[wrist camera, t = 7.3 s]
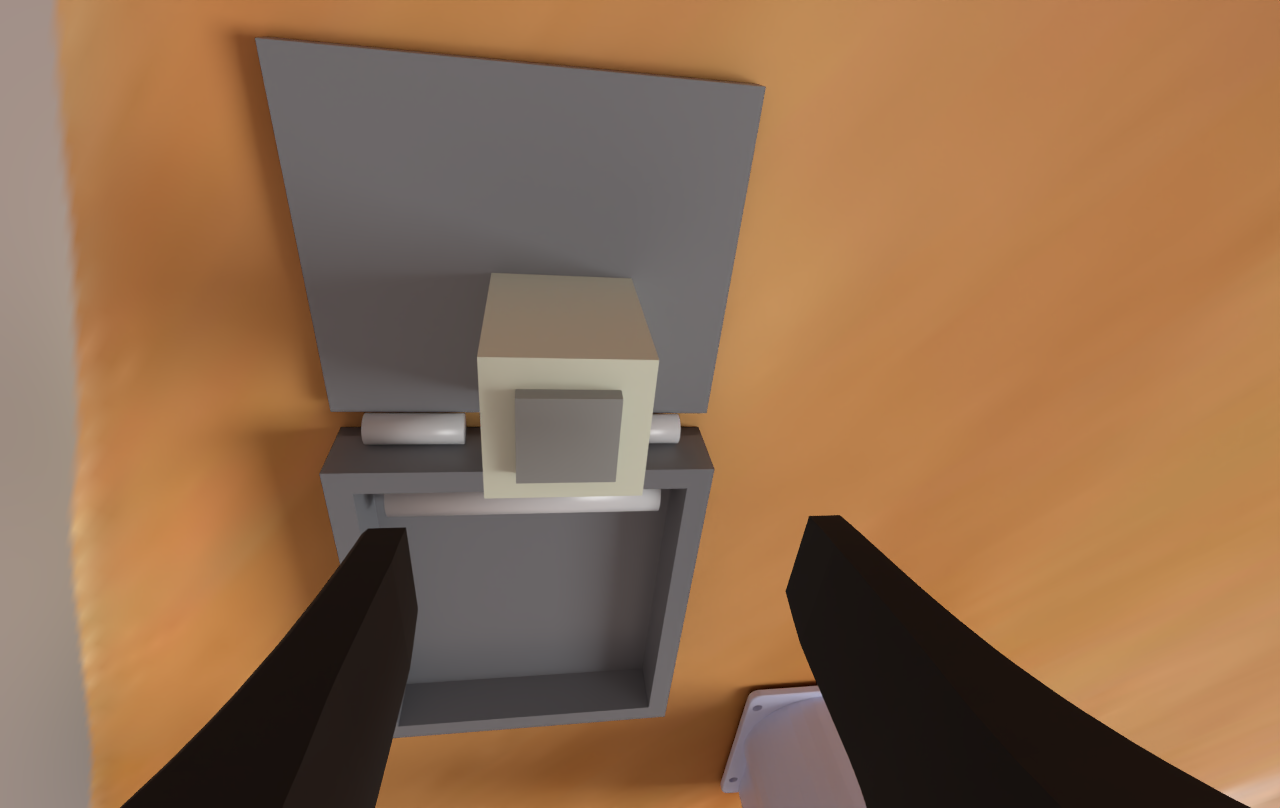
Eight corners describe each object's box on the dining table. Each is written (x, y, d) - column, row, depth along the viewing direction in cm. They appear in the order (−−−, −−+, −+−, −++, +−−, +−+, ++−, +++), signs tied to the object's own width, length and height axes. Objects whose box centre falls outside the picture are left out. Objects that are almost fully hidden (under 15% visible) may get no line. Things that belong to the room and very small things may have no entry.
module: (621, 394, 20) (644, 506, 16) (495, 393, 20) (483, 509, 15) (631, 278, 18) (662, 369, 14) (491, 272, 18) (475, 365, 13)
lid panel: (698, 427, 22) (706, 448, 21) (340, 427, 20) (329, 451, 19) (758, 84, 16) (774, 90, 15) (264, 36, 14) (242, 39, 13)
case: (656, 668, 30) (664, 716, 28) (391, 685, 28) (380, 739, 26) (698, 427, 22) (714, 469, 20) (340, 427, 20) (319, 473, 18)
